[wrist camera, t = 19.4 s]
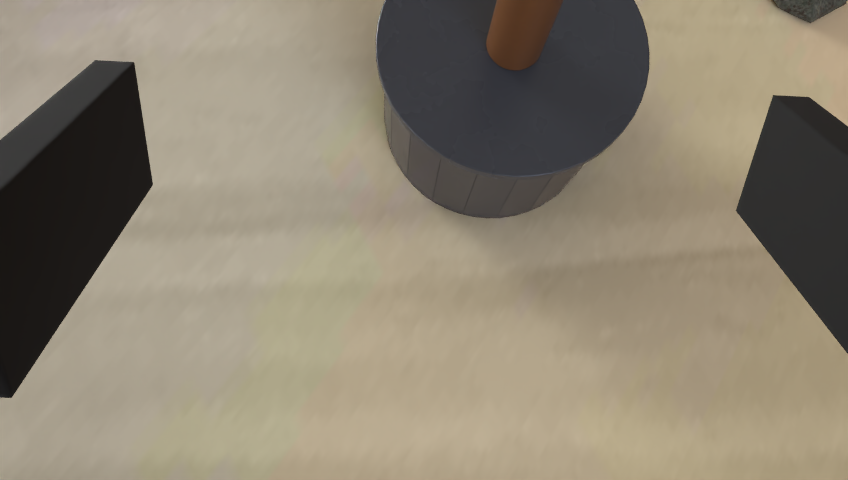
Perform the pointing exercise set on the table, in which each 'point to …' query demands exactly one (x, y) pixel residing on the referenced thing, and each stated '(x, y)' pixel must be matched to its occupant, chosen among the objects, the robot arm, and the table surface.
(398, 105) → the lid
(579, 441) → the table surface
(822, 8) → the sword in stone
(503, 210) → the tin
